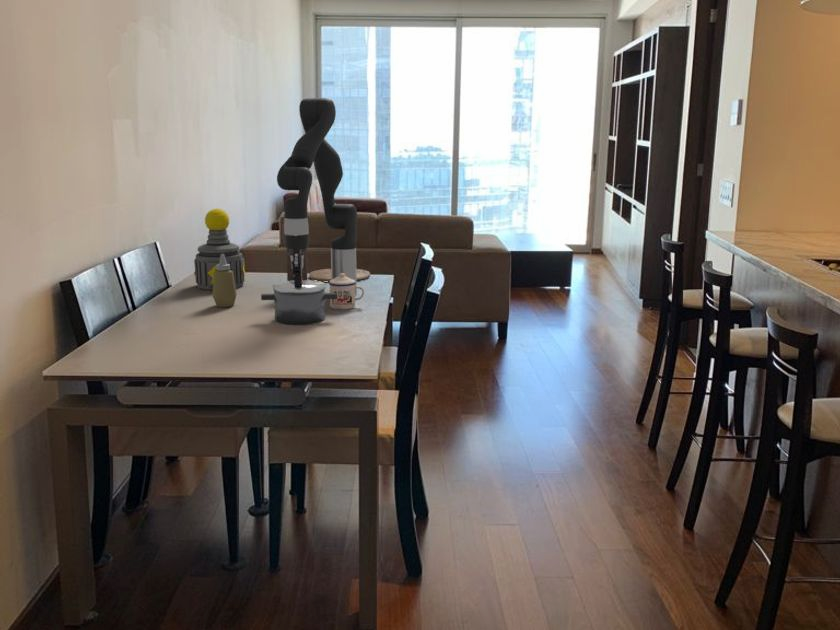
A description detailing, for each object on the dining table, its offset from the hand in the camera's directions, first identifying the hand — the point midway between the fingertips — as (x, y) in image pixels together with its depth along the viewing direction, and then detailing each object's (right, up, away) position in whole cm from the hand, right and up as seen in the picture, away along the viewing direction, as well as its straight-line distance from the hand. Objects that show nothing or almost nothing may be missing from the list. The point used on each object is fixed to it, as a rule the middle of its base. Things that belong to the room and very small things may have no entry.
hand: (298, 287), depth 253 cm
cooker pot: (0, -10, +7) cm, 12 cm away
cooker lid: (0, 0, +4) cm, 4 cm away
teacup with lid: (+13, -6, +25) cm, 28 cm away
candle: (-7, -2, +42) cm, 43 cm away
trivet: (+5, +6, +80) cm, 80 cm away
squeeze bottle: (-29, -6, +26) cm, 39 cm away
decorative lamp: (-39, +2, +60) cm, 72 cm away
